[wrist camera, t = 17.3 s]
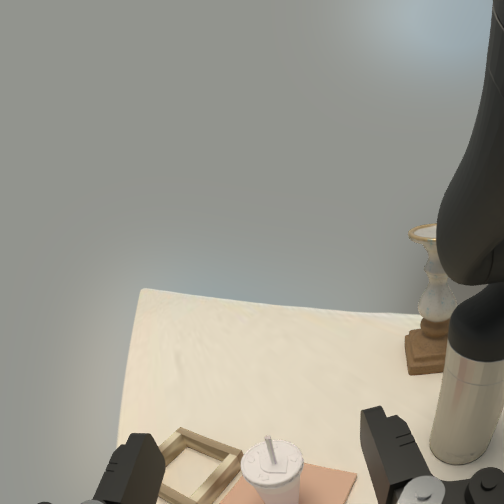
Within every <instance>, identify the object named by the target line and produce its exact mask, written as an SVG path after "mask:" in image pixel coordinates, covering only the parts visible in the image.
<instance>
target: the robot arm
mask: <svg viewBox="0 0 504 504" xmlns="http://www.w3.org/2000/svg"><path fill="white" fill-rule="evenodd" d="M436 246H437V253H438V257H439V260H440V263H441V265H442V267H443V269H444V271H445V273H446V274H447V276H448V277H450V278H451V279H452V280H453V281H455V282H457V283H458V284H463V285H470V286H474V285H482V284H489V285H488V286H487V287H486V288H484V289H483V290H482V291H481V292H479V293H478V294H476V295H475V296H473V297H471V298H469V299H467V300H465V301H464V302H462V303H461V304H460V305H458V306H457V307H456V308H455V309H454V311H453V313H452V315H451V317H450V322H449V330H448V340H447V349H446V357H445V365H444V371H443V378H442V384H441V389H440V395H439V400H438V405H437V410H436V414H435V418H434V423H433V427H432V431H431V435H430V440H429V442H430V448H431V451H432V452H433V454H434V455H435V456H436V457H437V458H438V459H440V460H442V461H443V462H446V463H449V464H465V463H469V462H472V461H474V460H476V459H477V458H479V457H480V456H481V455H482V454H483V453H484V452H485V450H486V448H487V447H488V444H489V442H490V440H491V437H492V435H493V433H494V430H495V428H496V425H497V423H498V420H499V418H500V415H501V412H502V409H503V407H504V0H493V7H492V19H491V29H490V39H489V46H488V53H487V63H486V71H485V80H484V86H483V92H482V97H481V102H480V106H479V110H478V114H477V118H476V122H475V126H474V129H473V132H472V135H471V138H470V141H469V144H468V147H467V150H466V152H465V154H464V157H463V159H462V161H461V163H460V165H459V167H458V169H457V171H456V173H455V175H454V177H453V179H452V180H451V182H450V184H449V186H448V188H447V190H446V192H445V194H444V197H443V200H442V203H441V205H440V209H439V213H438V219H437V226H436ZM360 441H361V447H362V451H363V454H364V457H365V461H366V464H367V467H368V470H369V474H370V477H371V480H372V483H373V487H374V490H375V493H376V497H377V500H378V504H504V473H503V472H502V471H501V470H500V469H497V468H493V467H487V468H483V469H481V470H479V471H477V472H476V473H475V474H474V475H473V476H472V478H471V479H466V480H459V481H442V480H439V479H438V478H436V477H434V476H433V475H432V474H431V472H430V471H429V468H428V466H427V464H426V462H425V460H424V458H423V456H422V454H421V452H420V450H419V448H418V445H417V443H415V439H414V437H413V435H411V431H410V429H409V427H408V425H407V423H406V422H405V421H404V420H402V419H401V418H400V417H398V416H397V415H394V416H391V417H386V415H385V412H384V410H383V408H382V407H381V406H377V407H373V408H369V409H365V410H361V421H360ZM165 467H166V465H165V459H164V456H163V455H162V453H161V451H160V449H159V448H158V446H157V444H156V442H155V440H154V438H153V437H152V435H151V434H148V433H131V434H130V436H129V438H128V440H127V442H126V445H122V444H121V445H120V446H119V447H118V448H117V449H116V450H115V451H114V453H113V454H112V457H111V459H110V461H109V464H108V465H107V468H106V472H104V474H103V477H102V479H101V481H100V484H99V486H98V488H97V490H96V493H95V495H94V497H93V499H92V500H88V501H85V502H83V503H81V504H156V501H157V498H158V494H159V491H160V487H161V483H162V480H163V476H164V473H165ZM38 504H51V503H49V502H41V503H38Z"/></svg>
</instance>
